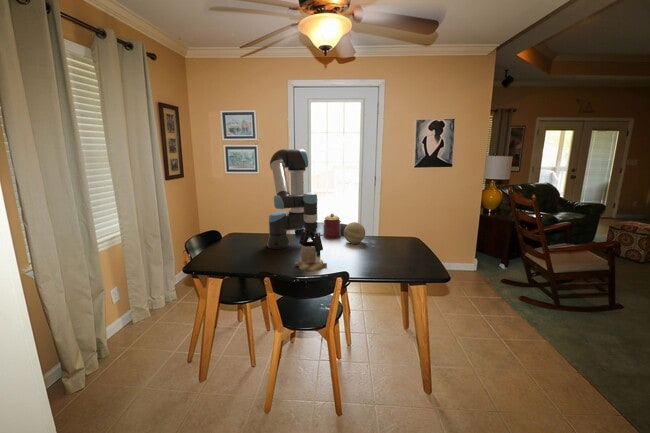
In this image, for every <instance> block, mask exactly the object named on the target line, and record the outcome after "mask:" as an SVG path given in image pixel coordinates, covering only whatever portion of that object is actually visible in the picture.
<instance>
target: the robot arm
mask: <svg viewBox="0 0 650 433" xmlns="http://www.w3.org/2000/svg"><path fill="white" fill-rule="evenodd" d="M308 167H309V158H308V154H307V152H306V150H305V149H296V148H295V149H290V148H289V149H288V148H287V149H286V148H285V149H283V148H282V149H280V150H277V151H276V152H274V154H273V155H272V156H271V157H270V161H269V168H270V170H271V171H272V175H273V183H274V188H275V193H276V195H274V197H273V207H274V208H275V209H276V210H277V209H278V211H275V212H271V213H270V214H269V215H268V226H269V227H268V230H269V232H268V233H269V236H268V240H267V243H266V244H267V247H268V249H271V250H272V249H273V250H280V249H281V250H282V249H286V248H288V247H290V239H289V237H288V235H287V231H296V230H298V231H301V233H300V237H299V245H301V243H303V242H307V241H309V239H311V240H310V241H313V243H314V246H315V249H316V251H315V262H319V261H320V259H321V251H323V250H324V246H323V243H322V238H321V232H320V231H317V228H318V195H317V193H315V192H304V187H305V186H304V172H306V171H307V170H306V168H308ZM286 168H287V171H288V172H289V175H290V189H289V185H288V180H287V174H286V170H285V169H286ZM279 209H280V210H279ZM283 209H284V211H283ZM285 209H289V211H288V213H287V211H285Z"/></svg>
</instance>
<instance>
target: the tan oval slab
mask: <svg viewBox="0 0 650 433" xmlns="http://www.w3.org/2000/svg"><path fill="white" fill-rule="evenodd" d="M294 266H295V267H298V269H299V270H301V271H304V272H316V271H320V270H322V269H323V268H324V267H325V268H326V267H328V263H327V262H324V260H323V259H321V258H320V261H319V262H315V263H306V262H303V261H302V260H301V259H300V260H299V261H295V263H294Z"/></svg>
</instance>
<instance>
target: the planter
mask: <svg viewBox="0 0 650 433" xmlns="http://www.w3.org/2000/svg"><path fill="white" fill-rule="evenodd" d="M300 246H301V247H300V249H301V250H300V251H301V252H300V260H302V261H303V262H306V263H315V251H316V249H315V246H314V243H313V241H312V240H308V241H307V242H303V243H301V244H300Z"/></svg>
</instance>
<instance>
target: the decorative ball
mask: <svg viewBox="0 0 650 433" xmlns="http://www.w3.org/2000/svg"><path fill="white" fill-rule="evenodd" d="M343 236H344V238H345V240H346V241H347V242H348V243H349V244H353V245H355V244H356V245H357V244H360V243H361V242H362V241H363V240H364V239H365V236H366V228H365V227H364V225H362V223H360V222H356V221H355V222H349V223H348V224H347V225H346V226H345V228H344V229H343Z"/></svg>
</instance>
